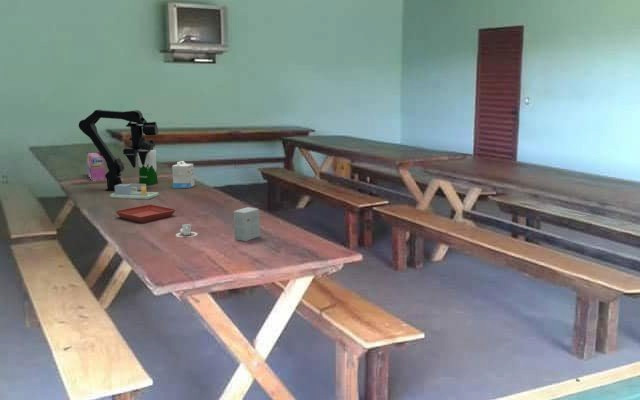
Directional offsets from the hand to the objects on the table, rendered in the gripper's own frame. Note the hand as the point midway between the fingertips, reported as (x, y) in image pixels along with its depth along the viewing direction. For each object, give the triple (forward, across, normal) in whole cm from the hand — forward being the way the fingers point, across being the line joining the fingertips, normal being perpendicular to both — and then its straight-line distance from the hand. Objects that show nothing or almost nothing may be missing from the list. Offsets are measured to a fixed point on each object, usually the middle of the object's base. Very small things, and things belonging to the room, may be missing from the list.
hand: (138, 166), depth 324 cm
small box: (+12, -80, -86) cm, 118 cm away
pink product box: (+12, +28, +43) cm, 53 cm away
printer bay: (+12, -6, 0) cm, 13 cm away
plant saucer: (+13, -56, -33) cm, 66 cm away
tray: (+12, -18, -6) cm, 23 cm away
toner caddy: (+11, -18, -5) cm, 22 cm away
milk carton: (+12, +16, +4) cm, 20 cm away
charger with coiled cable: (+13, -77, -64) cm, 101 cm away
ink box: (+12, +11, -19) cm, 25 cm away
